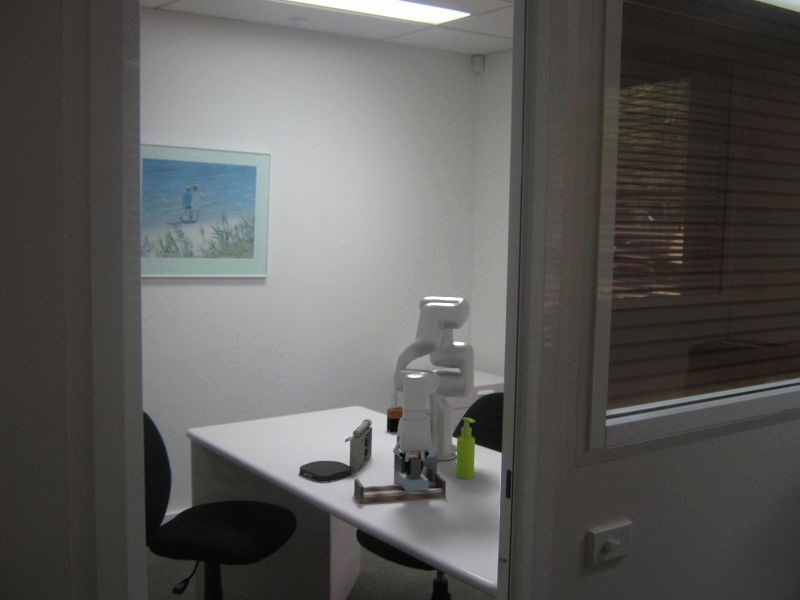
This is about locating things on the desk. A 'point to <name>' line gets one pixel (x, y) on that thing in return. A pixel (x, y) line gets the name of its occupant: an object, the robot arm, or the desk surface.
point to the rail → (398, 491)
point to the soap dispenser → (465, 451)
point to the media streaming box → (325, 470)
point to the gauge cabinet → (428, 467)
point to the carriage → (413, 476)
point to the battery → (394, 418)
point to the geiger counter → (360, 445)
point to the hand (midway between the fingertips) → (413, 472)
